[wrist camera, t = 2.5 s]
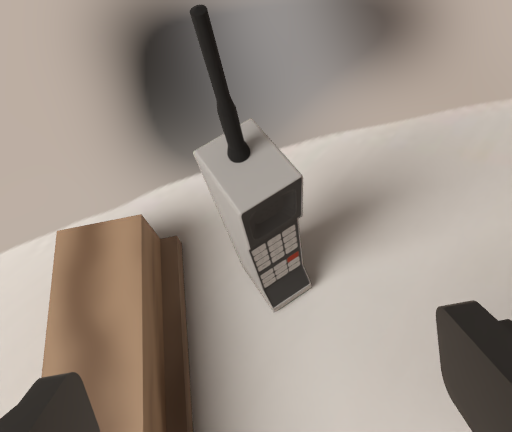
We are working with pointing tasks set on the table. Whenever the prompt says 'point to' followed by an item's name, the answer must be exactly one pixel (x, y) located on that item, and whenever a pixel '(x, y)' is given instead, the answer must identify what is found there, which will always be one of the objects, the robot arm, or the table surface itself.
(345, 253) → the table surface
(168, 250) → the walnut ridge
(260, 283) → the vintage mobile phone
